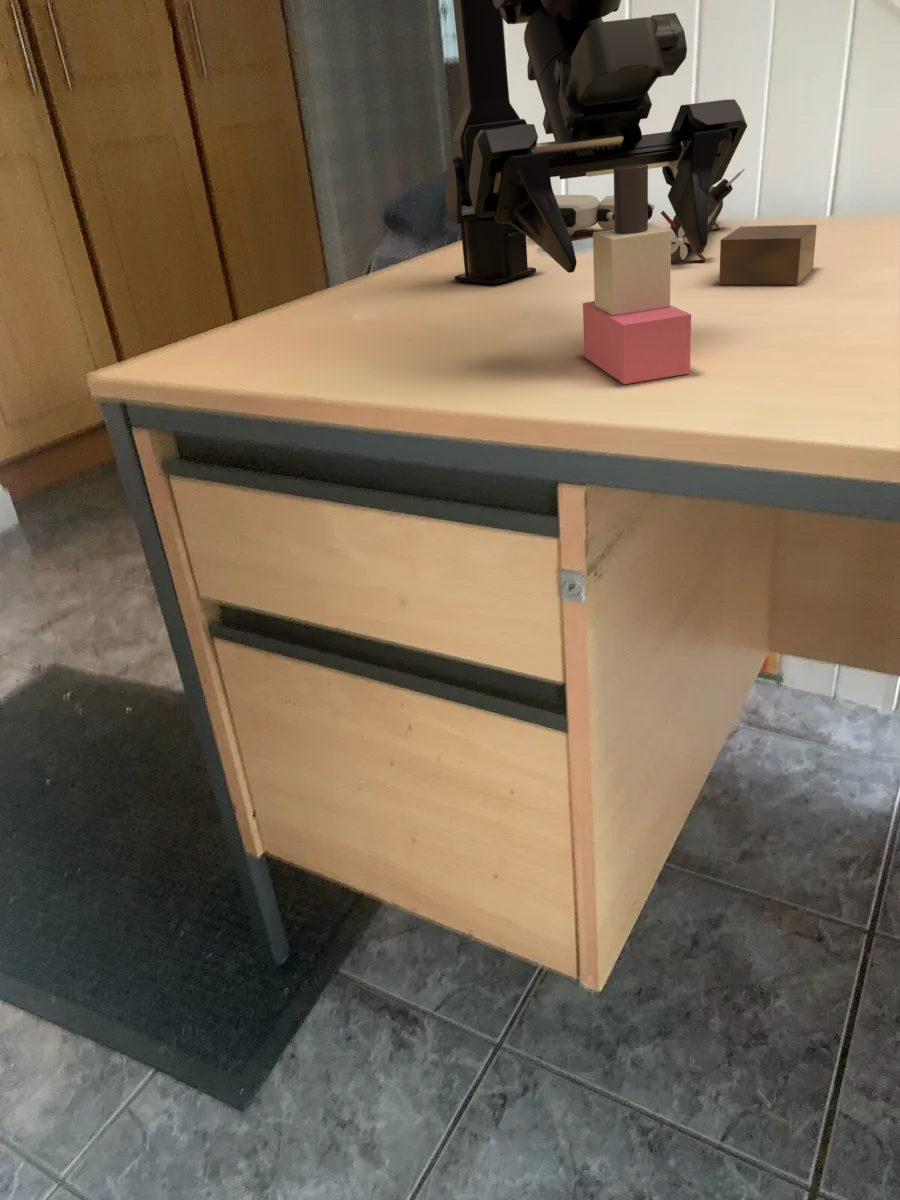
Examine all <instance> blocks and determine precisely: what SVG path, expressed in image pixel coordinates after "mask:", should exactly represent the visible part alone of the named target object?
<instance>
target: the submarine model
mask: <svg viewBox="0 0 900 1200" xmlns="http://www.w3.org/2000/svg"><path fill="white" fill-rule="evenodd" d="M744 171H745V168H743V169H742V170H740V171H739V172H738V173H736V175H734V176H733V177H732V178H731V179H730V180H729V179H727V178H722V180H720V181H719V182H718V184H717V185H716V186H714V185H713V186H711V187H710V189H709V207H708V230H707V236H708V235H709V234H710V232H711V230H712V228H713V226H714V227H716V228H717V230H720V229H721V226H719V225H718V224H717V222H716V221H717V219H718V218H719V216H720V214H721V212H722V211H723V207H724V199H725V198H727V196H729V195H730V193H731V192H733V190H734V188H733V185H732V184H733V183H734V182H735V181H736V180H737V179H738V178H739V177H740V176H741V175H742V173H743V172H744ZM660 215H661V216H662V217H663V218H664V219H665V220H666V221H667V223H668V224H669V225H670V227H667V228H666V229H668V230H671V254H674V253H675V252H676V251H677V250H679V256H680V259H681V260H686V258H687V255H688V254H689V252H688V250H689V249H691V250H692V251H693V252H694V253H695V254H696V255H697V256H698V257H699V259H700V260H702V262H706V260H707V258H706V257H705V256H704V255H703V253H700V254H697V253H696V252H695V251H694V249H693V248H692V246H691V245H690V243H689V242H688V240H687V238H686V235H685V233H684V231H683V229H682V227H681V224H680V222H679V220H678V218H677V216H676V214H675V215H674V216H673V218H671V217H670V216H669V215H668V214H667V213H666V212H665V210H662V211H661V212H660Z"/></svg>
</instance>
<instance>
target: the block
mask: <svg viewBox="0 0 900 1200" xmlns="http://www.w3.org/2000/svg"><path fill="white" fill-rule="evenodd" d="M817 227H818V226H817V224H794V225H793V224H792V225H791V224H788V225H787V224H786V225H785V224H784V225H756V226H755V225H753V226H751V225H750V226H748V225H747V226H740V227H738V228H736V229H735V230H733V231H732V232H730V233H729V234H727V235H726V236H725V237H723V238H722V239H720V246H719V248H720V249H719V250H720V253H719V254H720V255H719V274H718V275H719V276H718V278H719V279H718V285H719V286H798V285H799V284H800V283H801V282H802V281H803V280H804V279H805V278H806V277H807V276H808V275H809V274H811V272H812V271H813V270H814V264H815V262H814V261H815V252H816V251H815V249H816V239H817Z"/></svg>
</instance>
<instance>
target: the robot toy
mask: <svg viewBox="0 0 900 1200" xmlns="http://www.w3.org/2000/svg"><path fill="white" fill-rule="evenodd" d="M554 195H555V194H554ZM555 198H556V201H557V203H558V206H559V209H560V211H561V214H562V217H563V219H564V222H565V225H566V227H567V230H568V233H569V235H570V237H571V236H573V235H574V234H575V232H577V231H578V230H586V229H589V228H591V227H593V226H595V225H596V224H598V226H599V227H600V228H601V229H602V230H614V229H615V225H614V195H606V196H605V197H603V199H602V200H601V201H600V200H599V199H598V198H597V197H596V196H595V195H590V194H557V195H555ZM654 210H655V205H654V204H652V203H649V202H648V221H649V220H651V218H652V216H653V214H654Z"/></svg>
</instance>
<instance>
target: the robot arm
mask: <svg viewBox="0 0 900 1200" xmlns="http://www.w3.org/2000/svg"><path fill="white" fill-rule="evenodd" d="M621 2H622V0H452V3H453V13H454V14H453V16H454V24H455V34H456V44H457V55H458V65H459V66H458V67H459V75H460V84H461V94H462V95H461V96H462V103H463V104H462V105H463V111H462V114H461V117H460V119H459V121H458V124H457V126H456V128H455V131H454V134H453V136H452V138H451V158H449V160H448V166H447V176H446V184H445V185H446V186H445V194H444V202H445V208H446V215H447V220H448V221H450V222H453V223H454V224H456V225H459V224H460V233H461V243H462V244H461V245H462V255H463V267H464V272H463V273H460V274H456V275H454V281H458V282H467V283H469V282H470V283H477V284H478V283H479V284H488V285H497V284H501V283H505V282H508V281H511V280H515V279H518V278H522V277H525V276H529V275H532V274H536V273H537V268H536V267H531V266H530V267H529V265H528V264H529V263H528V250H527V249H528V248H527V247H528V246H527V238H529V239H530V240H532V241H533V242H534V243H535V244H536V245H537V246H539V247H540V248H541V249H542V250H543V252H545V253H546V254H547V255H548V256H550V258H552V259H553V260H554V262H555V263H557V264H558V265H559V266H560V267H561V268H562V269H563V270H565V271H566V272H567V273H568V274H570V273H574V272H575V271H576V267H577V264H578V263H577V257H576V253H575V248H574V245H573V244H574V243H573V240H572V237H571V236H570V235H569V233H568V230H567V227H566V225H565V222H564V219H563V217H562V214H561V211H560V209H559V206H558V203H557V201H556V198H555V193H554V190H553V186H552V180H551V178H555V177H558V178H559V180H566V179H574V178H582V177H587V178H590V177H597V176H605V175H614V168H615V167H619V166H625V165H635V164H646V165H648V170H651V169H656V168H662V169H661V171H662V175H663V178H664V180H665V183H666V185H669V186H670V189H669V191H668V194H667V198H668V200H669V202H670V205H671V208H672V209H673V211H674V214H675V215H676V216H677V218H678V220H679V222H680V224H681V227H682V229H683V231H684V233H685V235H686V238H687V240H688V242H689V243H690V245H691V246H692V248H693V249H694V251H695V252H696V253H697V254H700V253H701V254H703V253H704V251H705V249H706V247H707V244H708V235H707V230H708V207H709V189H710V187H711V186H713V187H714V185H716V184H717V183H720V182H721V181H722V180H723V177H724V175H725V174H726V171H727V169H728V167H729V165H730V163H731V161H732V159H733V157H734V155H735V152H736V151H737V148H739V147H738V146H739V144H740V143H741V140H742V138H743V136H744V134H745V132H746V130H747V128H748V124H747V122H746V119H745V118H746V117H745V116H744V114H743V111H742V108H741V107H740V105H739V104H738V102H737V101H736V99H735V98H734V99H730V98H729V99H720V100H711V101H703V102H695V103H687V104H686V103H685V104H681V105H680V106H679V109H678V111H677V114H676V117H675V119H674V122H673V124H672V127H671V130H670V131H663V132H656V133H648V134H643V133H642V129H641V126H640V123H641V120H645V119H646V120H647V119H648V118H649V114H650V112H651V109H652V106H653V102H652V101H651V98H650V94H649V91H650V89H651V88H652V87H653V85H654V84H655V82H656V81H657V80H658V78H662V77H668V76H669V77H670V76H674V75H675V74H676V72H677V71H678V70H679V68H680V67H681V65H682V64H683V63H684V62H685V60H686V58H687V53H688V46H687V39H686V33H685V30H684V27H683V25H682V23H681V21H680V19H679V17H678V15H677V13H676V12H670V13H662V14H660V13H659V14H653V15H650V16H644V17H635V18H625V19H617V20H608V21H604V20H603V18H604V17H606V16H608V15H609V14H611V13H615V12H618V11H619V8H620V7H621ZM504 22H505V23H506V24H507V25H519V24H521V25H522V24H526V25H525V29H524V33H523V42H524V48H525V50H526V53H527V57H528V61H527V69H526V70H527V79H528V80H529V81H530V82H532V81H535V82H536V86H537V88H538V91H539V94H540V97H541V101H542V104H543V107H544V111H545V112H544V114H543V115H544V116H543V121H542V126H543V129H544V132H545V135H551V134H552V135H553V138H554V141H546V142H538V139H539V134H538V132H537V129H536V125H535V124H534V123H528V122H527V120H526V119H525V118H521V117H520V116H519V114H518V113H517V111H516V110H515V108H514V107H513V106H512V103H511V101H510V92H509V80H508V79H509V78H508V68H507V67H508V66H507V54H506V43H505V42H506V41H505V29H504ZM463 207H467V208H470V207H472V208H471V209H463ZM692 248H691V249H692ZM694 251H693V252H694ZM695 252H694V253H695ZM696 253H695V254H696ZM697 254H696V255H697Z"/></svg>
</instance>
